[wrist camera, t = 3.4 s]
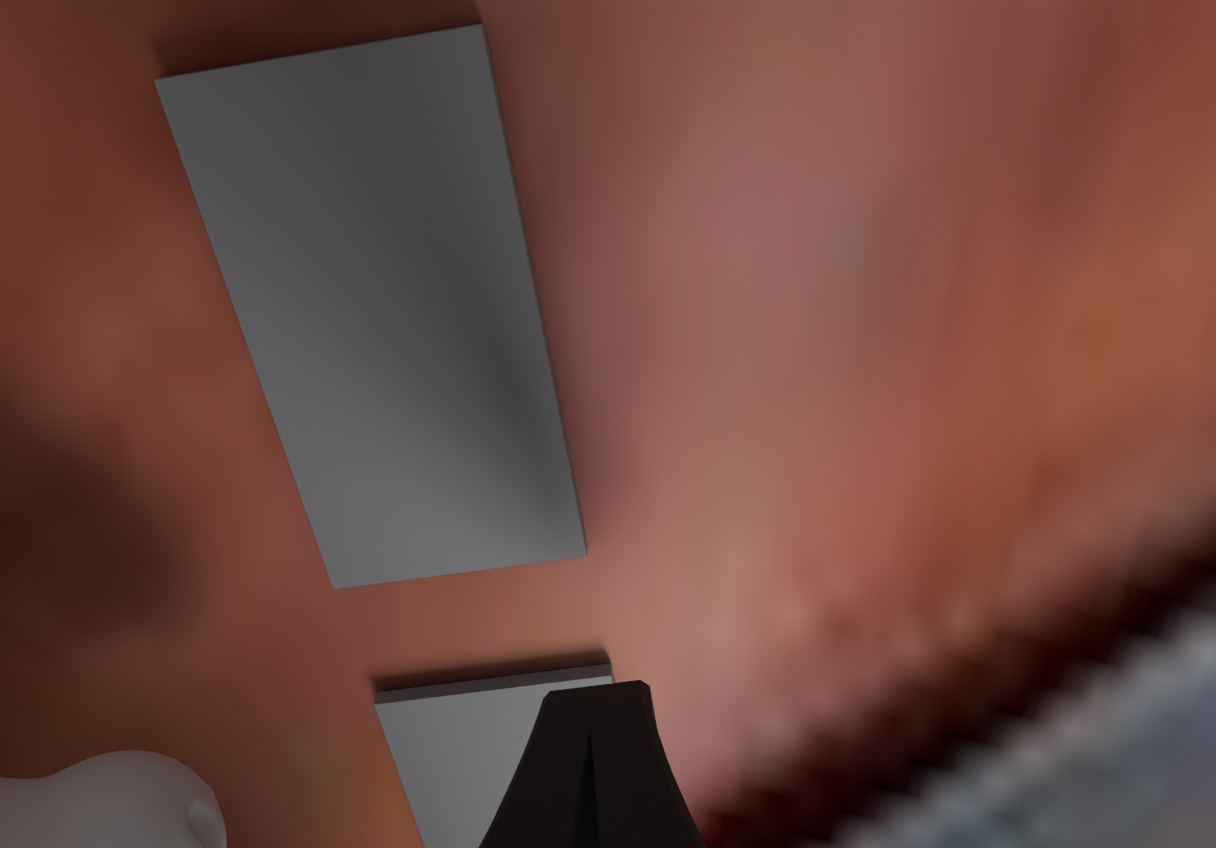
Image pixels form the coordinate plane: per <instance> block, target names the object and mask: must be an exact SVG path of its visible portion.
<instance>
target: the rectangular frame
mask: <svg viewBox="0 0 1216 848" xmlns="http://www.w3.org/2000/svg"><path fill="white" fill-rule="evenodd" d="M154 83H155V86H156V89H157V91H158V94H159V97H160V100H161V103H162V106H163V108H164V111H165V114H166V117H167V120H168V123H169V125H170V128H171V131H172V134H173V137H174V140H175V142H176V145H177V148H178V151H179V154H180V157H181V159H182V162H183V165H184V168H185V171H186V173H187V176H188V179H189V182H190V185H191V188H192V190H193V193H194V196H195V199H196V202H197V205H198V207H199V210H200V213H201V216H202V219H203V222H204V224H205V227H206V230H207V233H208V236H209V239H210V241H211V244H212V247H213V250H214V253H215V256H216V258H217V261H218V264H219V267H220V270H221V273H222V275H223V278H224V281H225V284H226V287H227V290H228V292H229V295H230V298H231V301H232V304H233V307H234V309H235V312H236V315H237V318H238V321H239V323H240V326H241V329H242V332H243V335H244V338H245V340H246V343H247V346H248V349H249V352H250V355H251V357H252V360H253V363H254V366H255V369H256V372H257V374H258V377H259V380H260V383H261V386H262V389H263V391H264V394H265V397H266V400H267V403H268V406H269V408H270V411H271V414H272V417H273V420H274V423H275V425H276V428H277V431H278V434H279V437H280V440H281V442H282V445H283V448H284V451H285V454H286V456H287V459H288V462H289V465H290V468H291V471H292V473H293V476H294V479H295V482H296V485H297V488H298V490H299V493H300V496H301V499H302V502H303V505H304V507H305V510H306V513H307V516H308V519H309V522H310V524H311V527H312V530H313V533H314V536H315V539H316V541H317V544H318V547H319V550H320V553H321V556H322V558H323V561H324V564H325V567H326V570H327V573H328V575H329V578H330V581H331V584H332V587H333V589H341V588H348V587H356V586H364V585H371V584H379V583H386V582H394V581H402V580H409V579H417V578H424V577H432V576H440V575H447V574H455V573H463V572H470V571H478V570H485V569H493V568H501V567H508V566H516V565H524V564H531V563H539V562H546V561H554V560H562V559H569V558H577V557H585V556H587V541H586V536H585V530H584V525H583V520H582V515H581V510H580V505H579V500H578V495H577V490H576V485H575V480H574V475H573V470H572V465H571V460H570V455H569V450H568V445H567V440H566V435H565V430H564V425H563V420H562V415H561V410H560V405H559V399H558V394H557V389H556V384H555V379H554V374H553V369H552V364H551V359H550V354H549V349H548V344H547V339H546V334H545V329H544V324H543V319H542V314H541V309H540V304H539V299H538V294H537V289H536V284H535V279H534V274H533V268H532V263H531V258H530V253H529V248H528V243H527V238H526V233H525V228H524V223H523V218H522V213H521V208H520V203H519V198H518V193H517V188H516V183H515V178H514V173H513V168H512V163H511V158H510V153H509V148H508V143H507V137H506V132H505V127H504V122H503V117H502V112H501V107H500V102H499V97H498V92H497V87H496V82H495V77H494V72H493V67H492V62H491V57H490V52H489V47H488V42H487V37H486V32H485V27H484V23H478V24H472V25H466V26H460V27H455V28H449V29H443V30H437V31H431V32H425V33H419V34H413V35H408V36H402V37H396V38H390V39H384V40H378V41H372V42H366V43H361V44H355V45H349V46H343V47H337V48H331V49H325V50H319V51H314V52H308V53H302V54H296V55H290V56H284V57H278V58H272V59H266V60H261V61H255V62H249V63H243V64H237V65H231V66H225V67H219V68H214V69H208V70H202V71H196V72H190V73H184V74H178V75H172V76H167V77H162V78H159V79H156V80H154ZM611 683H615V682H614V677H613V672H612V667H611V663H609V664H601V665H593V666H585V667H577V668H569V669H561V670H553V671H544V672H536V673H528V674H520V675H512V676H504V677H496V678H488V679H480V680H472V681H463V682H455V683H447V684H439V685H431V686H423V687H415V688H407V689H399V690H391V691H383V692H378V694H377V697H376V700H375V704H374V706H375V708H376V711H377V714H378V717H379V720H380V723H381V725H382V728H383V731H384V734H385V737H386V740H387V742H388V745H389V748H390V751H391V754H392V756H393V759H394V762H395V765H396V768H397V771H398V773H399V776H400V779H401V782H402V785H403V788H404V790H405V793H406V796H407V799H408V802H409V805H410V807H411V810H412V813H413V816H414V819H415V822H416V824H417V827H418V830H419V833H420V836H421V839H422V841H423V844H424V847H425V848H479V846H480V844H481V842H482V840H483V838H484V837H485V835H486V833H487V831H488V829H489V827H490V825H491V823H492V821H493V819H494V817H495V814H496V812H497V810H498V808H499V806H500V804H501V802H502V799H503V797H504V795H505V793H506V791H507V789H508V787H509V785H510V782H511V780H512V778H513V776H514V774H515V771H516V769H517V767H518V764H519V762H520V759H521V757H522V755H523V752H524V750H525V747H526V745H527V742H528V740H529V737H530V735H531V732H532V730H533V727H534V724H535V721H536V718H537V716H538V713H539V710H540V707H541V703H542V700H543V698H544V697H545V696H546V695H547V694H548V692H549V691H553V690H561V689H570V688H578V687H586V686H595V685H603V684H611Z"/></svg>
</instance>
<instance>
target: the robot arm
mask: <svg viewBox="0 0 1216 848" xmlns="http://www.w3.org/2000/svg"><path fill="white" fill-rule="evenodd" d="M479 848H707V847H706V845H705V843H704V841H703V839H702V837H701V835H700V833H699V831H698V829H697V827H696V825H695V823H694V821H693V819H692V817H691V815H690V812H689V810H688V808H687V806H686V803H685V801H684V799H683V796H682V794H681V792H680V789H679V787H678V785H677V783H676V780H675V778H674V776H673V773H672V771H671V768H670V765H669V763H668V760H667V758H666V755H665V752H664V749H663V746H662V743H661V740H660V737H659V734H658V730H657V725H656V719H655V714H654V708H653V702H652V696H651V691H650V686H649V685H647V684H646V683H644V682H643V681H641V680H636V681H628V682H619V683H611V684H603V685H595V686H586V687H578V688H570V689H561V690H553V691H549V692H548V694H547V695H546V696H545V697H544V698H543V700H542V703H541V707H540V710H539V713H538V716H537V718H536V721H535V724H534V727H533V730H532V732H531V735H530V737H529V740H528V742H527V745H526V747H525V750H524V752H523V755H522V757H521V759H520V762H519V764H518V767H517V769H516V771H515V774H514V776H513V778H512V780H511V782H510V785H509V787H508V789H507V791H506V793H505V795H504V797H503V799H502V802H501V804H500V806H499V808H498V810H497V812H496V814H495V817H494V819H493V821H492V823H491V825H490V827H489V829H488V831H487V833H486V835H485V837H484V838H483V840H482V842H481V844H480V846H479Z"/></svg>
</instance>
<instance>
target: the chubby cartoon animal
mask: <svg viewBox="0 0 1216 848" xmlns="http://www.w3.org/2000/svg"><path fill="white" fill-rule="evenodd" d="M226 841H227V838H226V829H225V822H224V819H223V816H222V813H221V811H220V808H219V805H218V802H217V799H216V796H215V793H214V791H213V790H212V788H211V787H210V786H209V785H208V784H207V783H206V782H205V781H204V780H202V779H201V778H200V777H199V776H198V775H197V774H196V773H195V772H194V771H192V770H191V769H190V768H189V767H187V766H186V765H184V764H183V763H181V762H179V761H177V760H175V759H173V758H171V757H168V756H166V755H163V754H159V753H155V752H150V751H141V750H125V751H115V752H109V753H105V754H100V755H96V756H93V757H91V758H88V759H85V760H83V761H81V762H79V763H76V764H74V765H72V766H70V767H68V768H66V769H64V770H62V771H60V772H57V773H55V774H53V775H49V776H46V777H41V778H31V779H20V778H4V777H0V848H226Z"/></svg>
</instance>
